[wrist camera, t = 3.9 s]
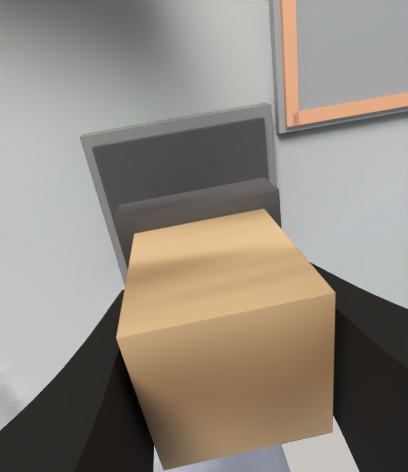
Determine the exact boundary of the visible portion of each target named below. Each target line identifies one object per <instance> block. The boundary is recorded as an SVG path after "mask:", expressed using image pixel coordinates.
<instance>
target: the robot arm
mask: <svg viewBox="0 0 408 472" xmlns="http://www.w3.org/2000/svg"><path fill="white" fill-rule="evenodd" d="M310 263H311V262H310ZM311 265H312V266H313V267H314V268H315V269H316V270H317V272H318V273H319V274H320V275H321V276H322V278H323V279H324V280H325V281H326V282H327V283H328V285H329V286H330V287H331V288H332V289H333V290H334V292H335V337H334V382H333V416H334V418H335V420H336V421H337V423H338V425H339V427H340V429H341V432H342V434H343V436H344V438H345V440H346V443H347V445H348V447H349V449H350V451H351V454H352V456H353V458H354V460H355V462H356V465H357V467H358V469H359V472H408V309H406V308H404V307H401V306H399V305H396V304H394V303H392V302H389V301H387V300H385V299H383V298H380V297H378V296H376V295H374V294H371V293H369V292H367V291H365V290H363V289H361V288H359V287H357V286H355V285H353V284H351V283H349V282H347V281H345V280H343V279H341V278H339V277H337V276H335V275H333V274H331V273H329V272H327V271H326V270H324V269H322V268H320V267H318V266H316V265H314V264H312V263H311ZM123 296H124V290H122V291H121V293H120V294H119V295H118V297H117V298H116V299H115V301H114V302H113V304H112V305H111V306H110V308H109V309H108V311H107V312H106V314H105V315H104V316H103V318H102V319H101V321H100V322H99V323H98V325H97V326H96V327H95V329H94V330H93V332H92V333H91V334H90V336H89V337H88V338H87V340H86V341H85V342H84V343H83V345H82V346H81V347H80V348H79V349H78V351H77V352H76V353H75V354H74V356H73V357H72V358H71V359H70V360H69V362H68V363H67V364H66V365H65V366H64V368H63V369H62V370H61V371H60V372H59V373H58V374H57V375H56V377H55V378H54V379H53V380H52V381H51V382H50V383H49V384H48V385H47V386H46V387H45V388H44V389H43V390H42V391H41V392H40V393H39V394H38V395H37V396H36V397H35V399H34V400H33V401H32V402H31V403H30V404H28V405H27V406H26V407H25V408H24V409H23V410H22V411H21V412H20V413H19V414H18V415H17V416H16V417H15V418H14V419H12V420H11V421H10V422H9V423H8V424H7V425H6V426H5V427H4V428H3V429H1V430H0V472H153V462H154V443H153V440H152V437H151V434H150V431H149V429H148V426H147V423H146V420H145V417H144V415H143V412H142V409H141V406H140V403H139V401H138V398H137V395H136V392H135V389H134V387H133V384H132V381H131V378H130V375H129V373H128V370H127V367H126V364H125V361H124V359H123V356H122V353H121V350H120V347H119V345H118V342H117V339H116V336H117V331H118V325H119V319H120V313H121V308H122V302H123ZM159 472H290V470H289V467H288V464H287V461H286V458H285V455H284V452H283V449H282V446H281V444H279V445H274V446H270V447H266V448H261V449H257V450H252V451H248V452H244V453H239V454H235V455H230V456H226V457H222V458H217V459H213V460H208V461H204V462H199V463H195V464H191V465H186V466H182V467H177V468H173V469H169V470H163V468H162V465H161V462H160V459H159Z"/></svg>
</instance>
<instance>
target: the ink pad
mask: <svg viewBox="0 0 408 472" xmlns="http://www.w3.org/2000/svg"><path fill="white" fill-rule="evenodd" d="M80 140H81V143H82V146H83V150H84V153H85V156H86V159H87V163H88V166H89V169H90V172H91V176H92V179H93V182H94V186H95V189H96V192H97V195H98V199H99V202H100V205H101V208H102V212H103V215H104V218H105V222H106V225H107V228H108V231H109V235H110V238H111V241H112V244H113V248H114V251H115V254H116V258H117V261H118V264H119V267H120V271H121V274H122V277H123V281H124V284H125V285H126V279H127V273H128V269H127V266H126V263H125V259H124V256H123V253H122V249H121V246H120V243H119V239H118V236H117V233H116V229H115V226H114V223H113V221H114V218H115V215H116V212H117V209H118V206H119V205H121V204H126V203H132V202H137V201H142V200H147V199H153V198H158V197H163V196H169V195H174V194H179V193H184V192H190V191H195V190H200V189H206V188H211V187H216V186H221V185H227V184H232V183H237V182H243V181H248V180H253V179H258V178H264V177H265V178H266V179H267V180H268V181H269V182H270V183H272V184H273V185H274V186H275V187H276V180H275V163H274V146H273V128H272V111H271V104H267V103H263V104H257V105H251V106H246V107H240V108H234V109H228V110H222V111H216V112H211V113H205V114H199V115H193V116H187V117H182V118H176V119H170V120H164V121H158V122H153V123H147V124H141V125H135V126H129V127H123V128H118V129H112V130H106V131H100V132H94V133H89V134H84V135H82V136H81V137H80Z"/></svg>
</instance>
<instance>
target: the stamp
mask: <svg viewBox="0 0 408 472" xmlns="http://www.w3.org/2000/svg"><path fill="white" fill-rule="evenodd" d="M113 223H114V226H115V229H116V233H117V236H118V239H119V243H120V246H121V249H122V253H123V256H124V259H125V263H126V266H127V269H128V273H127V279H126V285H125V290H124V296H123V302H122V308H121V313H120V319H119V325H118V331H117V336H116V339H117V342H118V345H119V347H120V350H121V353H122V356H123V359H124V361H125V364H126V367H127V370H128V373H129V375H130V378H131V381H132V384H133V387H134V389H135V392H136V395H137V398H138V401H139V403H140V406H141V409H142V412H143V415H144V417H145V420H146V423H147V426H148V429H149V431H150V434H151V437H152V440H153V443H154V445H155V448H156V451H157V454H158V456H159V459H160V462H161V465H162V468H163V470H169V469H173V468H177V467H182V466H186V465H191V464H195V463H199V462H204V461H208V460H213V459H217V458H222V457H226V456H230V455H235V454H239V453H244V452H248V451H252V450H257V449H261V448H266V447H270V446H274V445H279V444H283V443H288V442H292V441H296V440H301V439H305V438H310V437H314V436H318V435H323V434H327V433H331V432H332V427H333V425H332V424H333V382H334V337H335V292H334V290H333V289H332V288H331V287H330V286H329V285H328V283H327V282H326V281H325V280H324V279H323V278H322V276H321V275H320V274H319V273H318V272H317V270H316V269H315V268H314V267H313V266H312V265H311V263H310V262H309V261H308V260H307V259H306V257H305V256H304V255H303V254H302V253H301V252H300V250H299V249H298V248H297V247H296V246H295V245H294V243H293V242H292V241H291V240H290V239H289V237H288V236H287V235H286V234H285V233H284V232H283V230H282V229H281V215H280V198H279V190H278V189H277V188H276V187H275V186H274V185H273V184H272V183H270V182H269V181H268V180H267V179H266V178H265V177H264V178H258V179H253V180H248V181H243V182H237V183H232V184H227V185H221V186H216V187H211V188H206V189H200V190H195V191H190V192H184V193H179V194H174V195H169V196H163V197H158V198H153V199H147V200H142V201H137V202H132V203H126V204H121V205H119V206H118V209H117V212H116V215H115V218H114V221H113Z"/></svg>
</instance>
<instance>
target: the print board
mask: <svg viewBox="0 0 408 472" xmlns="http://www.w3.org/2000/svg"><path fill="white" fill-rule="evenodd" d="M269 2H270V21H271V39H272V58H273V77H274V96H275V115H276V132H277V133H279V134H281V133H286V132H292V131H298V130H303V129H309V128H315V127H320V126H326V125H332V124H337V123H343V122H349V121H354V120H360V119H366V118H371V117H377V116H383V115H388V114H394V113H400V112H405V111H408V0H269Z"/></svg>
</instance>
